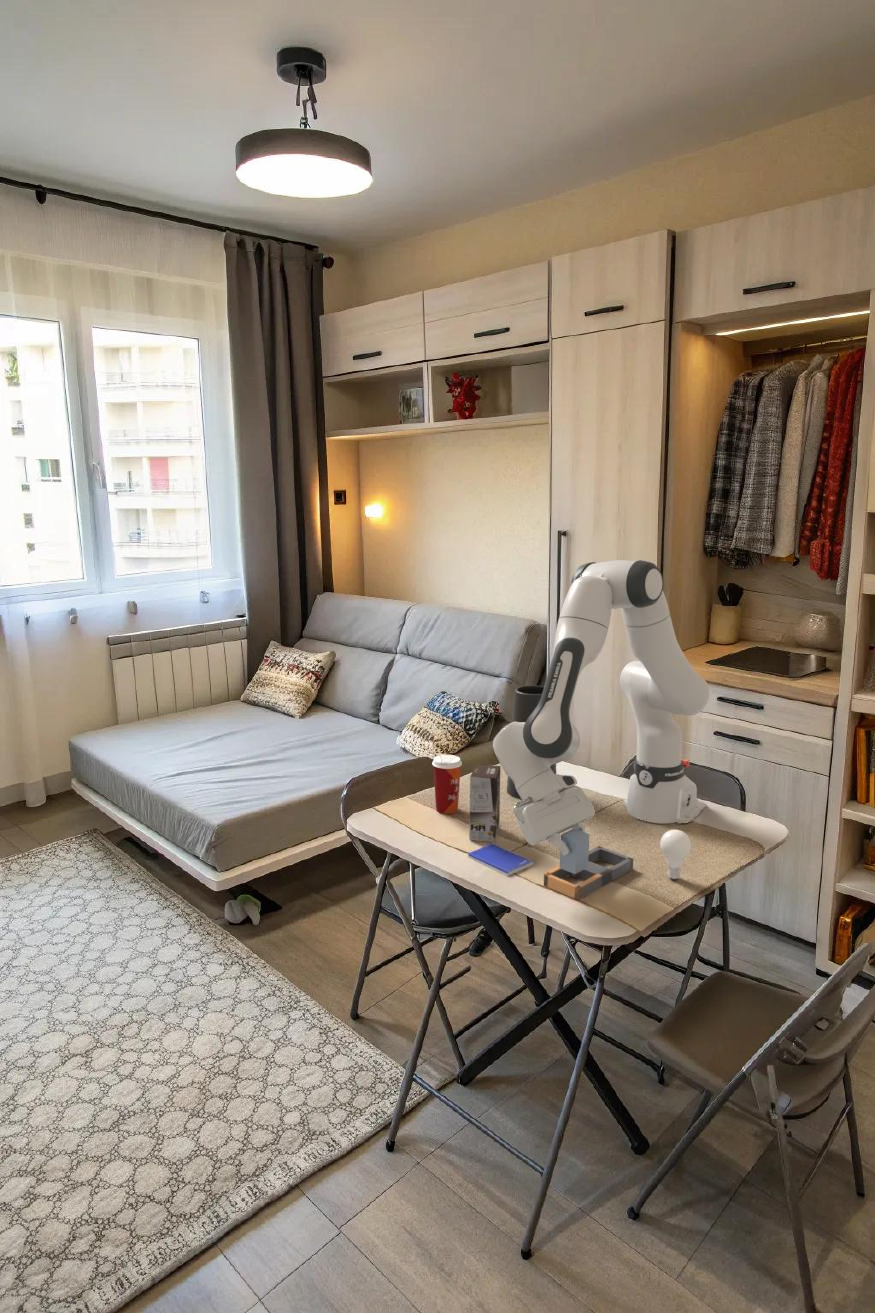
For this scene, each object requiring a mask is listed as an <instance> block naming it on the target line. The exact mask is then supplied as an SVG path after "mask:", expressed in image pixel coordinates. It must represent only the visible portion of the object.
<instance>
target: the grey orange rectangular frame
mask: <svg viewBox="0 0 875 1313" xmlns="http://www.w3.org/2000/svg"><path fill="white" fill-rule="evenodd" d="M599 860H601V861H603V862H607V863H609V864H612V865H613V866H611V867H609V868H607V867H605V866H602V865H600V864H598V863H595V862H597V861H599ZM633 868H634V858H633V857H630V856H627V855H624V854H622V853H619V852H616V851H613V850H610V849H608V848H605V847H602V846H596V847H595V848H592V849H591V850H589V855H588V868H586V869H584V870H582V871H580V872H578V873H576V874H573V873H571V872H568V871H566V870H563V869H561V868H560V864H559V865H557V866H555V867H554V868H551V869H549V870H548V871H546V872H545V873H544V874H543V886H545V887H547V888H549V889H551V890H553V891H556V892H558V893H560V894H563V895H565V896H567V897H570V898H572V899H574V900H576V901H580V900H581V899H584V898H585V897H587V896H589V895H591V894H593V893H594V892H596V891H597V890H599V889H601V888H603V887H604V886H606V885H608V884H610V883H612V882H613V881H615V880H617V879H619V878H620V877H622V876H624V875H625V873H626V874H627V873H630V872H631V871H632V870H634V869H633ZM569 876H573V877H574V878H577V879H580V880H583V881H581V882H579V883H578V884H574V883H572V882H569V881H568V880H565V878H567V877H569ZM586 895H587V896H586ZM583 897H584V898H583Z"/></svg>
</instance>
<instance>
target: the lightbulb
mask: <svg viewBox="0 0 875 1313" xmlns="http://www.w3.org/2000/svg"><path fill="white" fill-rule="evenodd" d="M659 844H660V846H659V847H660V850H661V852H662V854H663V855H664V858H665V862H666V865H667V870H666V871H667V873H666V876H667V877H668V878H670V879H671V878H672V880H678V879H680V878H681V868H682V865H683V862H684V860H685V859H686V858H687V857H688V855H689V854H690V852H691V850H692V841H691V839H690V837H689V836H688V834H687V833H685V832H684V831H682V830H680V829H669V830H667V831H666V832H664V833H663V834H662V836H661V839H660V841H659Z"/></svg>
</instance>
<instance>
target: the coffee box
mask: <svg viewBox="0 0 875 1313" xmlns="http://www.w3.org/2000/svg"><path fill="white" fill-rule="evenodd" d="M469 778H470V779H469V780H470V783H469V832H468V833H469V834H468V835H469V836H468V838H469V840H470V841H476V842H486V843H487V842H488V843H494V842H495V841H496V839H497V836H498V832H499V830H500V818H501V817H500V816H501V814H500V813H501V812H500V811H501V810H500V809H501V806H500V804H501V801H500V800H501V765H488V764H487V765H486V764H484V765H482V764H481V765H480V764H475V766H474V768H473V770H472V772H471V774H470V777H469Z"/></svg>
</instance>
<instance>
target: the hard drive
mask: <svg viewBox="0 0 875 1313" xmlns="http://www.w3.org/2000/svg"><path fill="white" fill-rule="evenodd" d="M467 857H468V858H469V859H471V860H473V861H475V862H477V863H479V864H482V866H486V867H488V868H490V869H492V870H494V871H496V872H498V873H500V874H502V875H505V876H506V877H508V876H511V875H513V874H515V873H518V872H520V871H523V870H524V869H527V868H529V867H531V866H533V865H534V864H533V862H534V861H533V860H531V859H529V858H526V857H523V856H521V855H520V854H517V853H515V852H513V851H510V850H507V849H506V848H504V847H500V846H498V845H496V844H494V843H491V844H489V845H486V846H484V847H481V848H479V849H475V850H473V851H470V852H469V853H467Z"/></svg>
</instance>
